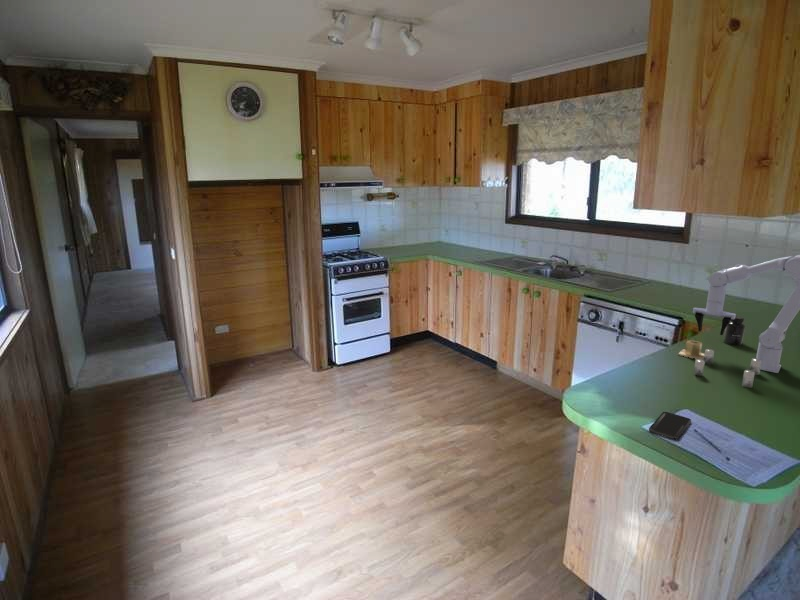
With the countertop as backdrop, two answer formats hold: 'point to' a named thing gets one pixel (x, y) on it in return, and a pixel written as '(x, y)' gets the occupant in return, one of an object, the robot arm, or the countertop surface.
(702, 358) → the oak pad
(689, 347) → the brass nut
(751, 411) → the countertop surface
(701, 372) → the steel spacers
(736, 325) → the supplement bottle
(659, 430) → the phone
